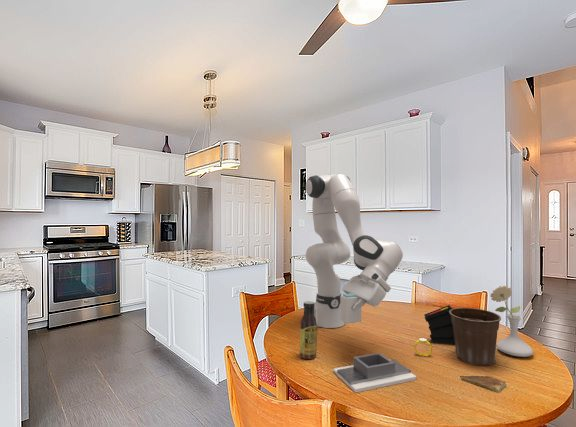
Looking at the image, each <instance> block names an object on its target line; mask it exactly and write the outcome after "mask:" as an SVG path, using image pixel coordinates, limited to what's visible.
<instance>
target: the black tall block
mask: <svg viewBox="0 0 576 427" xmlns="http://www.w3.org/2000/svg"><path fill="white" fill-rule="evenodd" d="M451 309H453V307H452V306H451V305H449V304H448V305H445V306H443V307H441V308H439V309H436V310H433V311H430V312H427V313H425V314H424V319H425V322H426V323H427V325H428V329H429V331H430V334H429V337H430V340H431V343H433V344H442V345H452V346H455V339H454V331H453V324H452V321H451V315H450V313H449V311H450V310H451Z"/></svg>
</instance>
